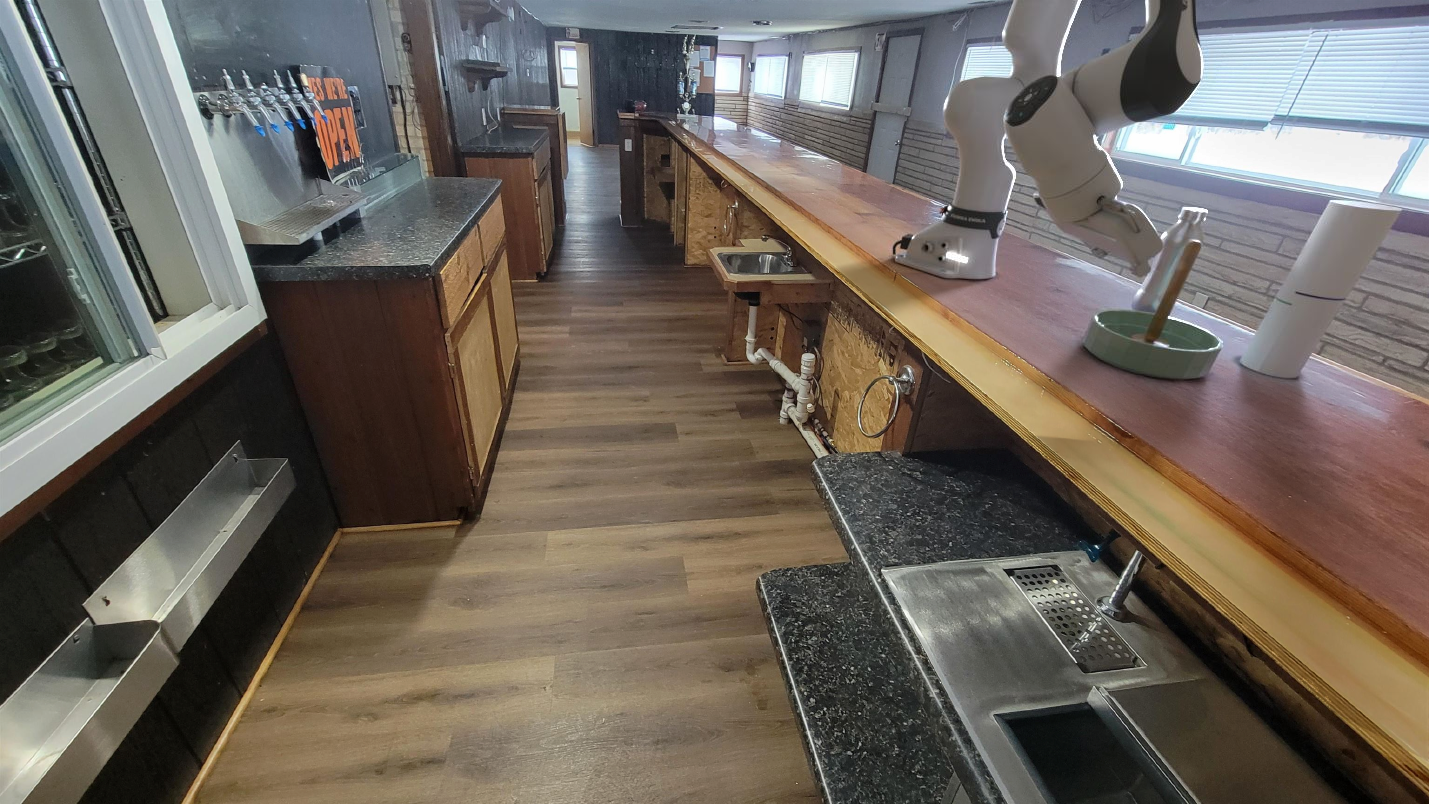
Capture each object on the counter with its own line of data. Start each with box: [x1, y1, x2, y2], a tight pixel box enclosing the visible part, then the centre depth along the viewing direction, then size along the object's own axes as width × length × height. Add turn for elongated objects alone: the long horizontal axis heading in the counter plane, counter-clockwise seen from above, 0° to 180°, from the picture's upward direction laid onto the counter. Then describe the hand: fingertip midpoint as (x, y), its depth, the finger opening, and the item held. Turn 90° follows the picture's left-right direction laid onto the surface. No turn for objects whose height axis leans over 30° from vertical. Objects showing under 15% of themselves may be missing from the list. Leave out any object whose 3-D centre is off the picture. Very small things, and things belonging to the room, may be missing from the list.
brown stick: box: [1130, 241, 1203, 347], centre depth 86 cm, size 5×5×18 cm
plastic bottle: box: [1130, 206, 1208, 314], centre depth 104 cm, size 6×7×20 cm
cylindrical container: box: [1239, 199, 1403, 379], centre depth 84 cm, size 7×7×25 cm
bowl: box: [1082, 308, 1224, 380], centre depth 90 cm, size 17×17×5 cm
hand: (1121, 263), depth 84 cm, fingers open, 8 cm apart
